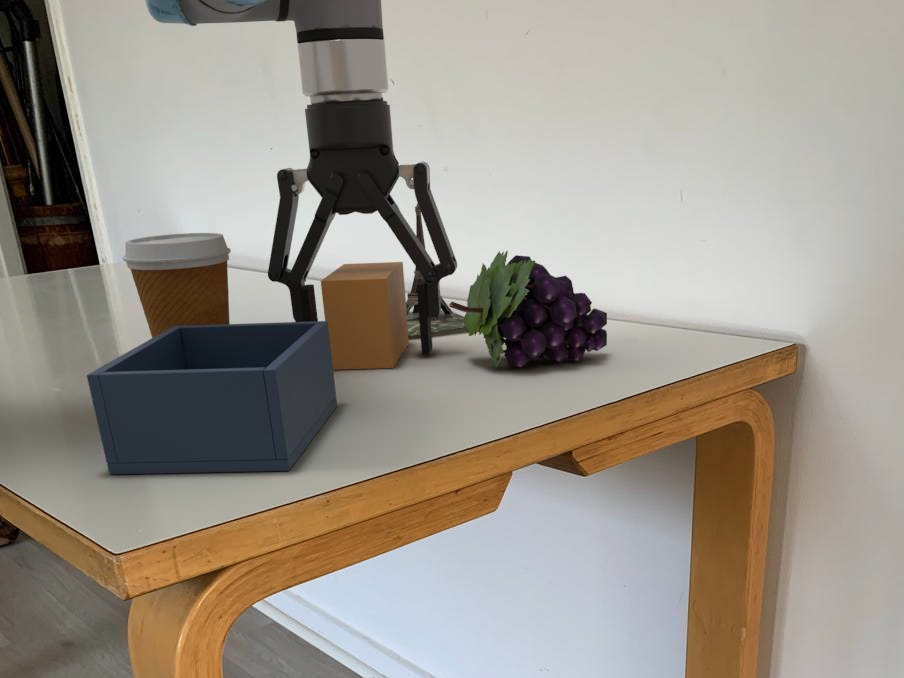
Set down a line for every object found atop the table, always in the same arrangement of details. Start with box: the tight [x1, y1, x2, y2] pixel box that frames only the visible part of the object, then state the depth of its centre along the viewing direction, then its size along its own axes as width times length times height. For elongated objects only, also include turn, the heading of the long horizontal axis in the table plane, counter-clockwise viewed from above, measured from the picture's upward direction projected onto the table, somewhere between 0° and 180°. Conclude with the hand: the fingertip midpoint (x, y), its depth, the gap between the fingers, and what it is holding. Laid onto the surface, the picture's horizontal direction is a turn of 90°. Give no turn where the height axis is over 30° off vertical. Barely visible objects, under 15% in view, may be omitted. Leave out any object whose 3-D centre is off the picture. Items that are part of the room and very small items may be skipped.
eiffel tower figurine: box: [406, 201, 466, 337], centre depth 108 cm, size 15×10×13 cm
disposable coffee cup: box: [122, 232, 232, 339], centre depth 92 cm, size 10×10×12 cm
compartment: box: [86, 320, 338, 475], centre depth 73 cm, size 13×17×7 cm
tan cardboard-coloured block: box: [320, 261, 410, 371], centre depth 96 cm, size 6×11×8 cm, turn 176°
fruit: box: [448, 250, 608, 369], centre depth 90 cm, size 10×11×15 cm
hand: (371, 353), depth 98 cm, fingers open, 10 cm apart
